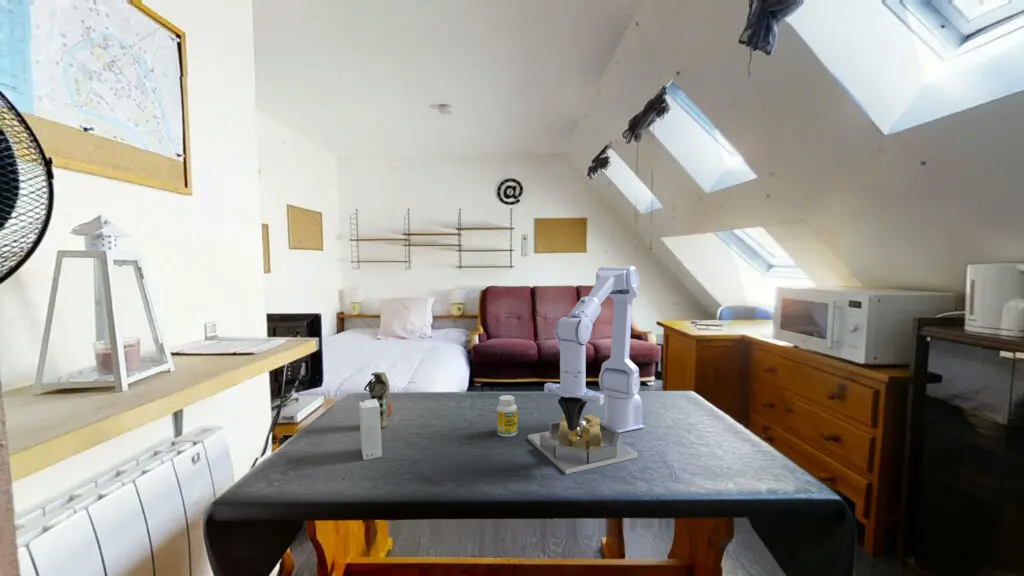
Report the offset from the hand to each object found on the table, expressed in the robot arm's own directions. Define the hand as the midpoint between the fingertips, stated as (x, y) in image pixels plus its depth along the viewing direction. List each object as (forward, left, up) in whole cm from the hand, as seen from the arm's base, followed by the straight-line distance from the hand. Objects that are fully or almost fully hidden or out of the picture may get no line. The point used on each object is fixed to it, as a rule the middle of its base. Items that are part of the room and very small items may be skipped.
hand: (572, 429), depth 90 cm
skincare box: (+43, -21, -7) cm, 48 cm away
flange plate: (-4, -4, -7) cm, 9 cm away
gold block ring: (-4, -4, -6) cm, 8 cm away
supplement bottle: (+9, -19, -7) cm, 22 cm away
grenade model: (+40, -36, -7) cm, 54 cm away
